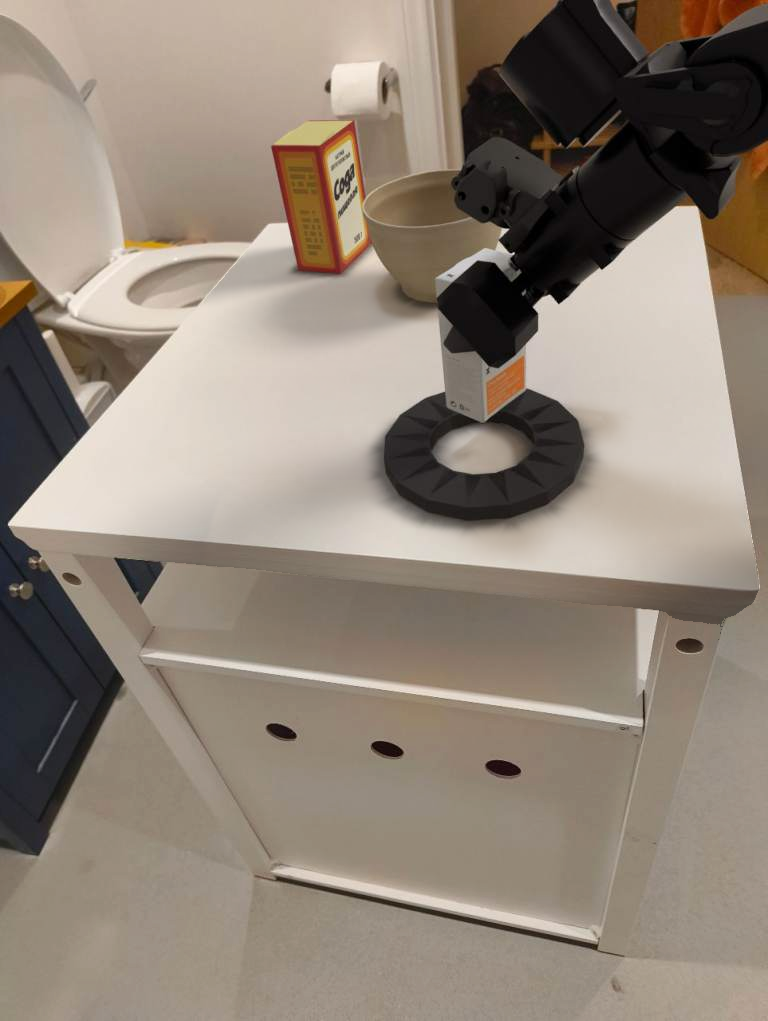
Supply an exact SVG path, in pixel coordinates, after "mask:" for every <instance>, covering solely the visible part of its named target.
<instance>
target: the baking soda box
mask: <svg viewBox="0 0 768 1021" xmlns="http://www.w3.org/2000/svg"><path fill="white" fill-rule="evenodd" d="M270 149H271V153H272V158H273V161H274V167H275V171H276V176H277V180H278V184H279V189H280V190H279V191H280V194H281V199H282V203H283V206H284V212H285V216H286V221H287V226H288V230H289V234H290V239H291V243H292V249H293V253H294V257H295V261H296V268H297V270H298V271H302V272H317V273H327V274H337V275H338V274H340V275H341V274H343V273H344V272H345V271H346V269H348V267H350V265H352V263H354V262H355V261H356V259H357V258H358V257H360V255H362V253H363V252H364V251H365V250H366V249H368V247H370V245H371V244H372V242H371V239H370V236H369V232H368V227H367V223H366V221H365V218H364V216H363V211H362V204H363V201H364V199H365V198H366V197H367V196H366V192H365V185H364V177H363V171H362V170H363V169H362V164H361V157H360V150H359V144H358V136H357V129H356V122H355V119H317V120H316V119H315V120H314V119H312V120H311V119H309V120H307V121H305V122H304V123H303V124H301V125H300V126H299V127H297V128H296V129H291V130H290V131H288V132H287V133H286V134H285V135H283V136H282V137H281V138H279V139H278V140H277V141H276V142H274V143H273V144H271V146H270Z"/></svg>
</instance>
